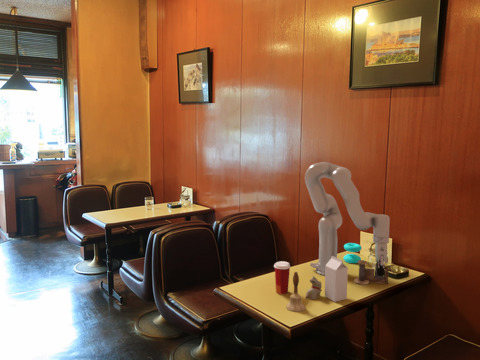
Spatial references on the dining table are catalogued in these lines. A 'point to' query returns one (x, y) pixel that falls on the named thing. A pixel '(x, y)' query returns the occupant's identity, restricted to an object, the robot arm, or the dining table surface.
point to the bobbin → (361, 274)
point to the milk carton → (336, 280)
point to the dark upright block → (376, 272)
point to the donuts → (352, 248)
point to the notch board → (370, 276)
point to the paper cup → (282, 277)
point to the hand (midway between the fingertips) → (379, 273)
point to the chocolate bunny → (314, 289)
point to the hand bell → (295, 297)
